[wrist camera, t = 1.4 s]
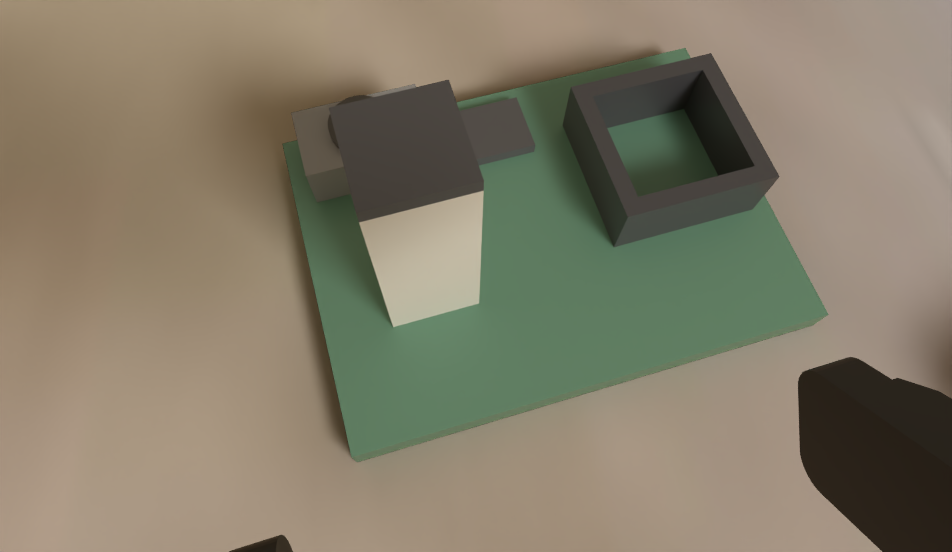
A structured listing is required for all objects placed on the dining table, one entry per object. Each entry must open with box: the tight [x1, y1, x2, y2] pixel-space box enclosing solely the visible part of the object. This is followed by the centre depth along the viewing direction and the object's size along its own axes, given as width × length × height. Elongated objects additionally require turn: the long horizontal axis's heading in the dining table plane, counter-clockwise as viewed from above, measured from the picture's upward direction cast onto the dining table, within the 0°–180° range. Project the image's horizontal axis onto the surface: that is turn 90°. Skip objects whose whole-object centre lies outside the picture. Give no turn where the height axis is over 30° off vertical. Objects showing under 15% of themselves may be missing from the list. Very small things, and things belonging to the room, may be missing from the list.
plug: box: [329, 80, 484, 327], centre depth 26 cm, size 4×4×11 cm
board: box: [283, 48, 828, 462], centre depth 31 cm, size 22×16×4 cm
